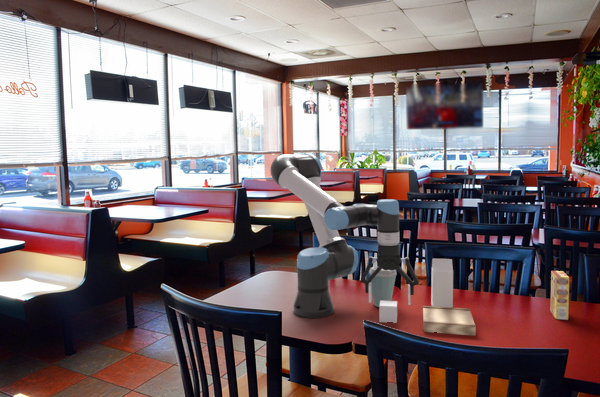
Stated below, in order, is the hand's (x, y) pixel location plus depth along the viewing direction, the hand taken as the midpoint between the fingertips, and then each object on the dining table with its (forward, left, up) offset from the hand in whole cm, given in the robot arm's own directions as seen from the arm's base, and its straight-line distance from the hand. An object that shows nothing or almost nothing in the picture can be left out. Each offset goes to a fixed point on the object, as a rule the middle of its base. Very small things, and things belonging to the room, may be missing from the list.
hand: (389, 303), depth 158 cm
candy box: (+59, +16, -6) cm, 61 cm away
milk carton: (+19, +16, -6) cm, 26 cm away
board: (+20, -1, -6) cm, 20 cm away
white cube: (0, 0, -6) cm, 6 cm away
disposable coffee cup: (-3, +15, -6) cm, 17 cm away
